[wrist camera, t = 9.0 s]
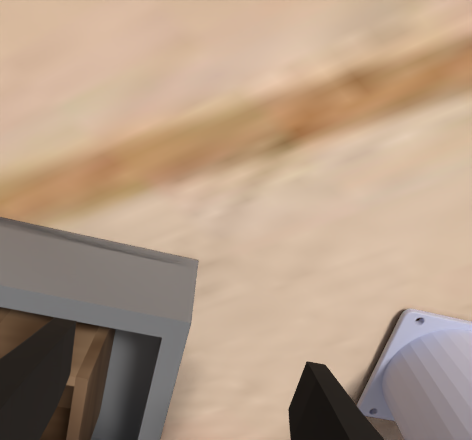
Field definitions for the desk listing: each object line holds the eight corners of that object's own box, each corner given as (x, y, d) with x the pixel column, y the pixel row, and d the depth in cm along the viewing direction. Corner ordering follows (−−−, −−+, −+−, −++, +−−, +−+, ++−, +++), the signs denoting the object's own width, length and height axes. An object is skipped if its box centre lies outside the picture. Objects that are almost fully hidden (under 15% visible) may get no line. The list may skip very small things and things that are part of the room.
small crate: (120, 301, 21) (88, 379, 16) (100, 412, 24) (66, 508, 19) (22, 281, 20) (-44, 355, 15) (13, 398, 23) (-46, 493, 18)
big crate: (198, 260, 21) (190, 322, 16) (151, 443, 26) (134, 536, 21) (-37, 208, 20) (-127, 260, 15) (-41, 413, 25) (-108, 505, 20)
